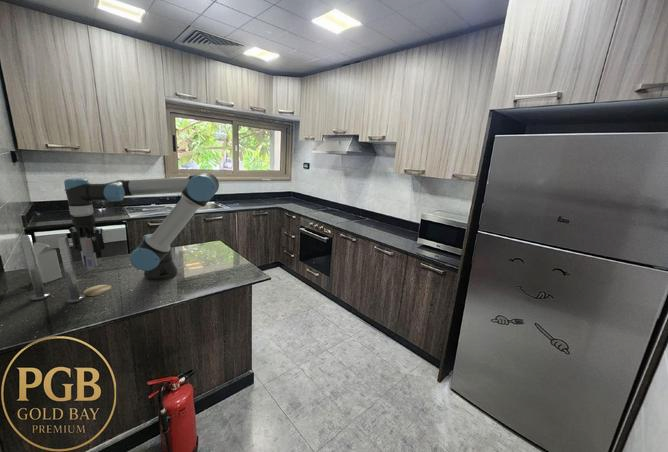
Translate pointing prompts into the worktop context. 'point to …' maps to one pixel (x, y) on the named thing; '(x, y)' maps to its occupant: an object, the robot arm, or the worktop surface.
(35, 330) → the worktop surface
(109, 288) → the coaster
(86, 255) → the beverage can
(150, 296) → the worktop surface
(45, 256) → the milk carton
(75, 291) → the post
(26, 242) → the post
